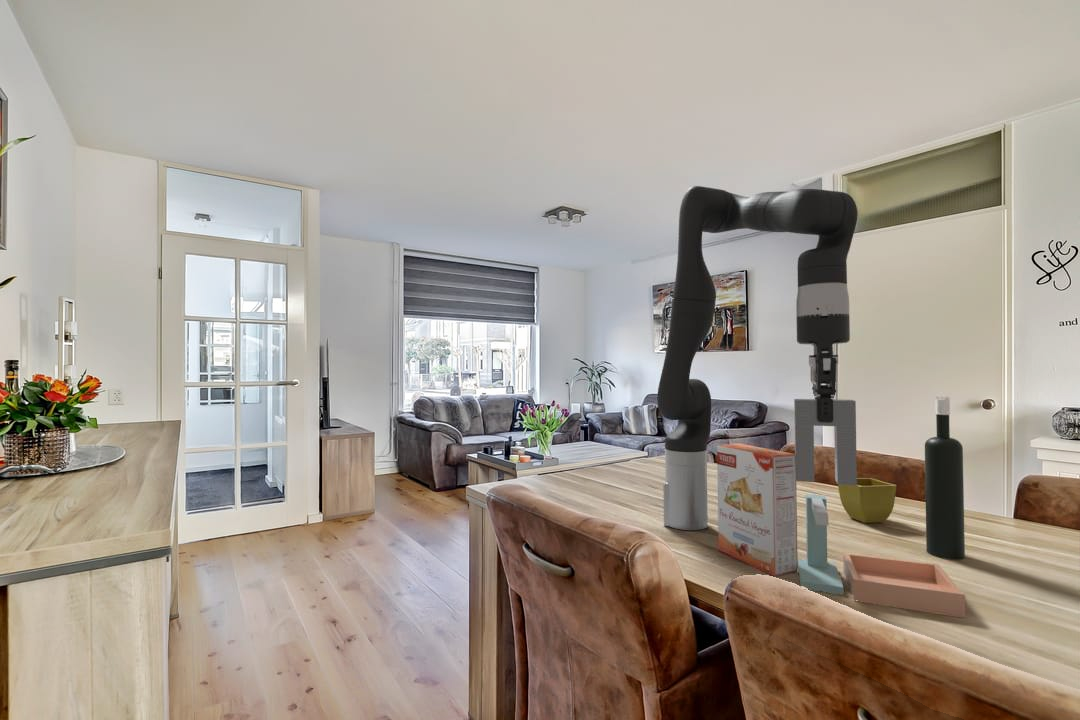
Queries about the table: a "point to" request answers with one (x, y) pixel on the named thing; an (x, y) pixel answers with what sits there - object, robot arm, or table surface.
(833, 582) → the peg stand
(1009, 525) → the table surface
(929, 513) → the wine bottle
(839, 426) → the grey arch block
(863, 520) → the flower pot
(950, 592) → the tray
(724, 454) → the cracker box
